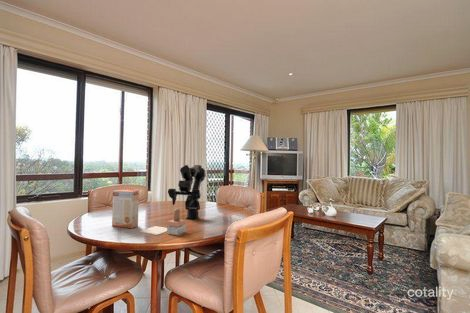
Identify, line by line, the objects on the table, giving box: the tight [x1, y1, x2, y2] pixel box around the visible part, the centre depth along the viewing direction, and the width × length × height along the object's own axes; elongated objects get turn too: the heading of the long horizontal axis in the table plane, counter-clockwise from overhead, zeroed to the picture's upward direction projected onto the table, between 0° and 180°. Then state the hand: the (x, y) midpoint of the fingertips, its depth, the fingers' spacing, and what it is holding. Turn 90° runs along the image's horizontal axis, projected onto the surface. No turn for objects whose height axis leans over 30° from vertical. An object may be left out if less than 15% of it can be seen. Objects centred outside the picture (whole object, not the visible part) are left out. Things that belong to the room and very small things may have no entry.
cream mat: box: [139, 225, 167, 236], centre depth 138 cm, size 12×12×1 cm
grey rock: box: [166, 223, 187, 236], centre depth 135 cm, size 7×7×6 cm
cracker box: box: [111, 189, 140, 229], centre depth 145 cm, size 14×6×21 cm, turn 71°
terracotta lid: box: [167, 208, 186, 227], centre depth 135 cm, size 7×7×8 cm
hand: (181, 205), depth 142 cm, fingers open, 9 cm apart
